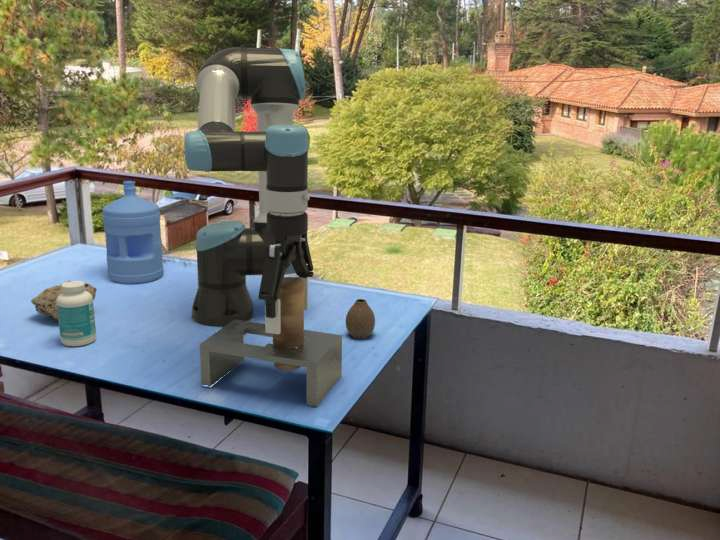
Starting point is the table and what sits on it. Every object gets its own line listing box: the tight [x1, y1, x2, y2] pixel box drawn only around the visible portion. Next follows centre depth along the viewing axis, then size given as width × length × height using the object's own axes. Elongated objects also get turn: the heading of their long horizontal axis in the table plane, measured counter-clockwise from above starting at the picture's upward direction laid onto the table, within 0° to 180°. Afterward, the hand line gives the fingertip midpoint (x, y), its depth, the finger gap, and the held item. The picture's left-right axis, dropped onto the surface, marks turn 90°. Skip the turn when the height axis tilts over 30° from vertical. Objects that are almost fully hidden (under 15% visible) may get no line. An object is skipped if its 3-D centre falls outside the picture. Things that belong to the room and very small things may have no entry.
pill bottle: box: [56, 280, 97, 347], centre depth 148 cm, size 8×7×14 cm
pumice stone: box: [30, 280, 97, 321], centre depth 163 cm, size 14×12×8 cm
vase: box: [345, 298, 376, 340], centre depth 156 cm, size 7×7×9 cm
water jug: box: [101, 180, 165, 285], centre depth 191 cm, size 16×16×28 cm
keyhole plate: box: [199, 319, 343, 408], centre depth 132 cm, size 24×14×9 cm, turn 72°
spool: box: [272, 276, 305, 371], centre depth 128 cm, size 6×6×17 cm
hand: (287, 320), depth 128 cm, fingers open, 13 cm apart
